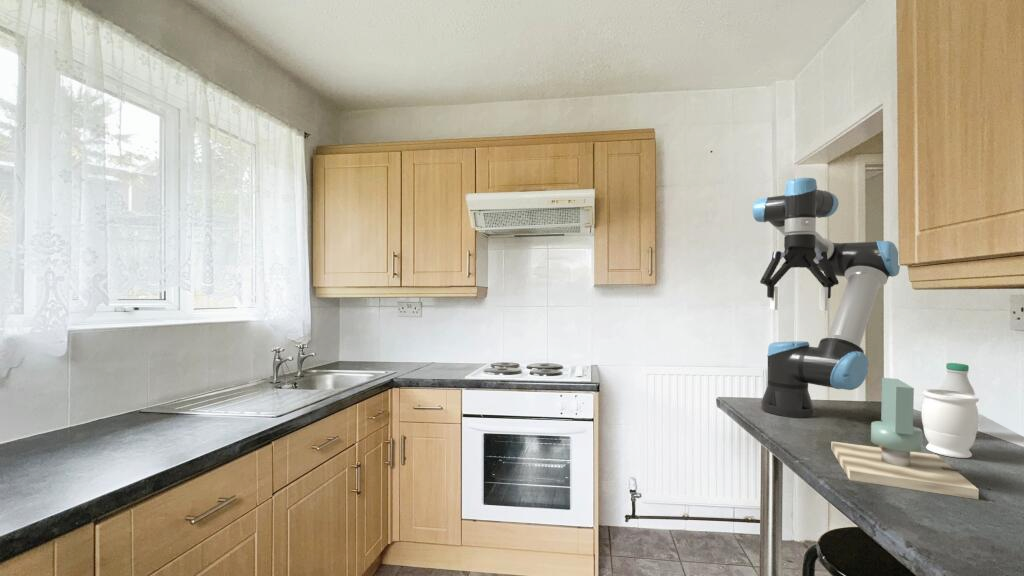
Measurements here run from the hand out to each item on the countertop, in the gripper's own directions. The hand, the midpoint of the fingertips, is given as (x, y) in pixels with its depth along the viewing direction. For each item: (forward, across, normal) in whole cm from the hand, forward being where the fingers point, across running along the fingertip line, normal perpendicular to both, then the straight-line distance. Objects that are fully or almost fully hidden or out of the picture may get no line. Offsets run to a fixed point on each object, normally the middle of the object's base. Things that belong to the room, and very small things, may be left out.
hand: (798, 310), depth 134 cm
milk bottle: (+35, +45, +2) cm, 57 cm away
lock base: (+35, +8, -27) cm, 44 cm away
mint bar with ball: (+29, +8, -26) cm, 39 cm away
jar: (+35, +30, -13) cm, 48 cm away
